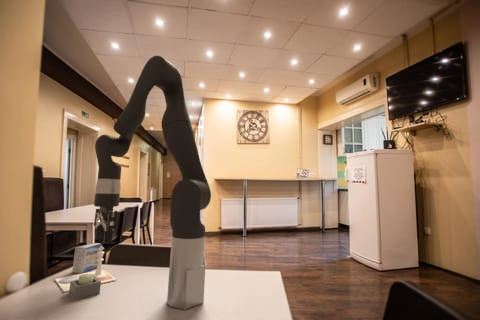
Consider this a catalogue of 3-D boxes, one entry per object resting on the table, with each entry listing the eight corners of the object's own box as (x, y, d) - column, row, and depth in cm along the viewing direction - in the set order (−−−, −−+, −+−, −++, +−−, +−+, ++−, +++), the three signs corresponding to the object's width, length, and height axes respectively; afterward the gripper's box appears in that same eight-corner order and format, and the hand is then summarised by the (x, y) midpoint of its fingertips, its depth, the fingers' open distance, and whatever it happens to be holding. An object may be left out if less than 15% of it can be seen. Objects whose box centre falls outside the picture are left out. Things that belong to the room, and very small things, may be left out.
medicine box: (82, 273, 81) (85, 248, 82) (71, 272, 81) (74, 247, 83) (99, 266, 88) (102, 243, 90) (89, 265, 89) (92, 242, 90)
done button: (94, 284, 66) (95, 275, 67) (79, 288, 64) (80, 279, 64) (90, 281, 69) (91, 272, 69) (76, 284, 66) (77, 275, 66)
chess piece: (85, 278, 75) (89, 246, 77) (101, 274, 79) (104, 243, 81) (94, 281, 73) (98, 248, 74) (109, 277, 77) (113, 245, 79)
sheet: (116, 280, 76) (116, 278, 76) (63, 292, 66) (64, 290, 66) (102, 270, 84) (103, 269, 85) (54, 280, 74) (54, 278, 74)
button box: (99, 293, 66) (100, 281, 66) (74, 300, 62) (76, 287, 62) (93, 287, 70) (94, 276, 70) (69, 292, 66) (70, 281, 66)
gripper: (127, 192, 78) (123, 242, 76) (112, 192, 88) (107, 236, 85) (102, 192, 73) (97, 246, 70) (89, 192, 82) (84, 239, 80)
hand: (103, 241), depth 78 cm, fingers open, 8 cm apart
